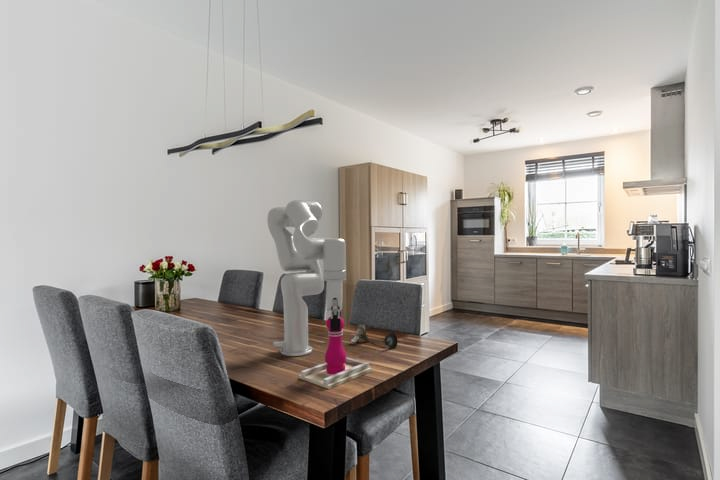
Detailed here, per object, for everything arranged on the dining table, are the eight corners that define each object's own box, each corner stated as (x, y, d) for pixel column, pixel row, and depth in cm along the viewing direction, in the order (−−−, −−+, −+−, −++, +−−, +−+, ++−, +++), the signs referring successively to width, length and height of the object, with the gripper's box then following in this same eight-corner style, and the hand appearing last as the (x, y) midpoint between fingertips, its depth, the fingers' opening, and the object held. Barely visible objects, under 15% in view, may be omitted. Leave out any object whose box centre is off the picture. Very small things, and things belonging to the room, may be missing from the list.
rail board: (329, 389, 115) (328, 380, 115) (299, 378, 124) (299, 370, 124) (371, 371, 130) (371, 363, 130) (342, 362, 139) (342, 355, 139)
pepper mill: (338, 376, 122) (337, 314, 122) (320, 372, 126) (319, 312, 126) (350, 369, 128) (350, 310, 128) (333, 366, 132) (332, 308, 132)
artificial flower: (386, 355, 152) (379, 332, 151) (350, 350, 169) (343, 329, 168) (400, 344, 158) (393, 322, 157) (364, 340, 175) (357, 320, 174)
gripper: (324, 273, 135) (325, 321, 135) (322, 278, 118) (323, 334, 118) (345, 273, 136) (346, 321, 136) (346, 278, 118) (347, 333, 118)
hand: (335, 327), depth 127 cm, fingers open, 9 cm apart
